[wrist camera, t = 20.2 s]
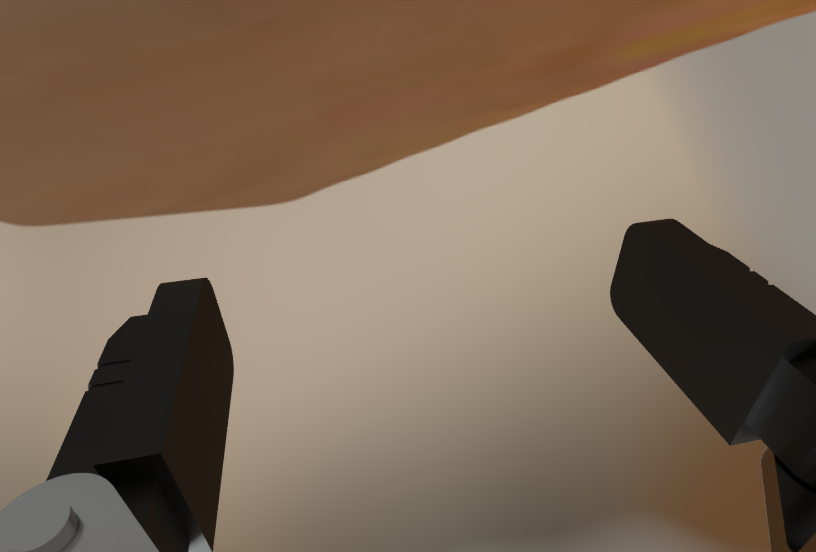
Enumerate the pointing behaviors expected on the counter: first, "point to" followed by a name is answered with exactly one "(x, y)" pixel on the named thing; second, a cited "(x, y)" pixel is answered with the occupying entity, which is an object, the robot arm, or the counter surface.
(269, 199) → the counter surface
